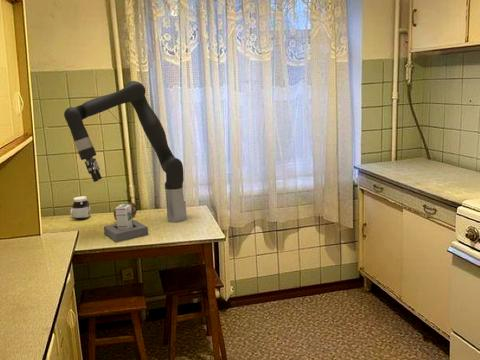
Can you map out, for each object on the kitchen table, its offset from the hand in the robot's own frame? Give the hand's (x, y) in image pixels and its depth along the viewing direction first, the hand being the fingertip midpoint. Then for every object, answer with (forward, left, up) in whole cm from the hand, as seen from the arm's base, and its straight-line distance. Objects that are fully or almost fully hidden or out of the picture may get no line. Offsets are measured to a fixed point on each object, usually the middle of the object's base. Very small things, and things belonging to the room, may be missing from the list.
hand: (98, 180), depth 240 cm
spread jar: (0, -38, -27) cm, 47 cm away
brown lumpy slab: (-18, -17, -27) cm, 37 cm away
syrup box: (-8, +8, -27) cm, 30 cm away
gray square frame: (-8, +8, -27) cm, 29 cm away
